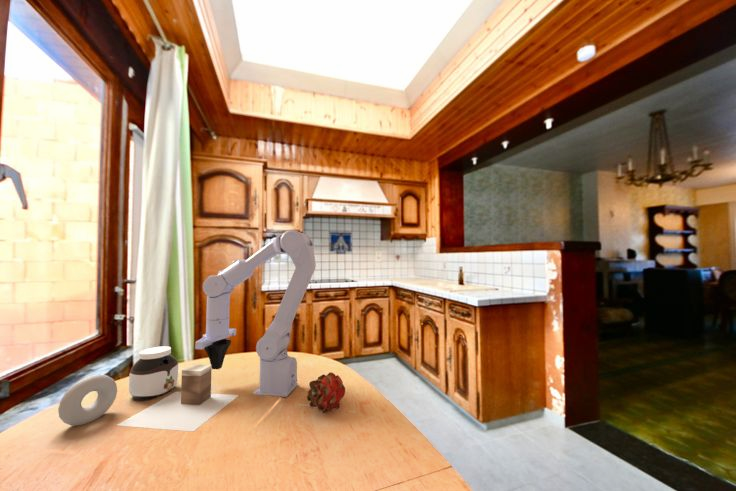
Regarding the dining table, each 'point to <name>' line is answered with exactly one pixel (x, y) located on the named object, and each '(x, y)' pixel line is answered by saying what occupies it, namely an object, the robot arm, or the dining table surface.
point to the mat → (178, 413)
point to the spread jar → (153, 373)
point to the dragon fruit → (326, 392)
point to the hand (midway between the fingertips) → (216, 368)
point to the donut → (73, 397)
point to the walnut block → (196, 384)
